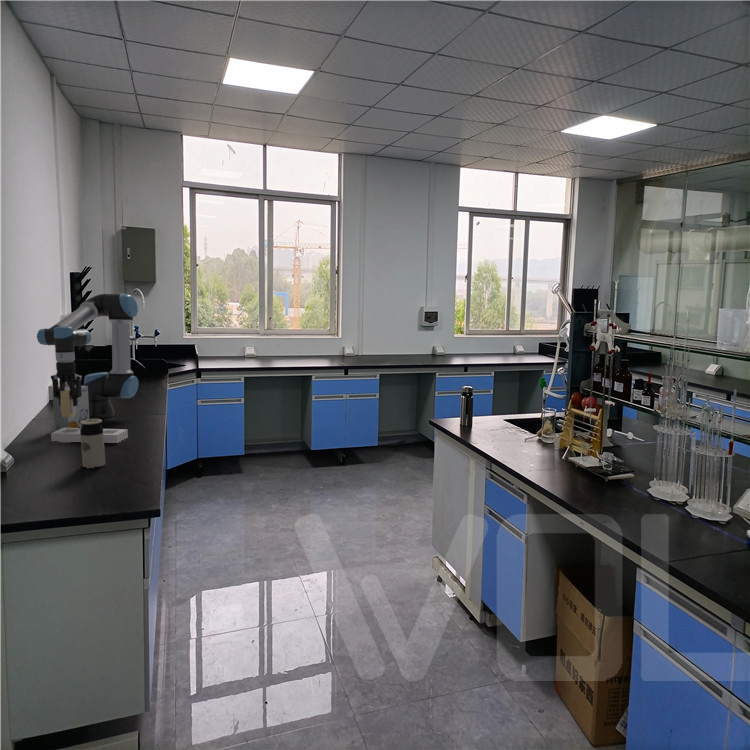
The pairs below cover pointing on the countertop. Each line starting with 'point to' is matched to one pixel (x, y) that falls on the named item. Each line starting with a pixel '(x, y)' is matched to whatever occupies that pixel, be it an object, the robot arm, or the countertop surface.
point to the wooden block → (66, 403)
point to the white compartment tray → (75, 436)
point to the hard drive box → (81, 411)
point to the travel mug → (92, 443)
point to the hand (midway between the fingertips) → (68, 412)
